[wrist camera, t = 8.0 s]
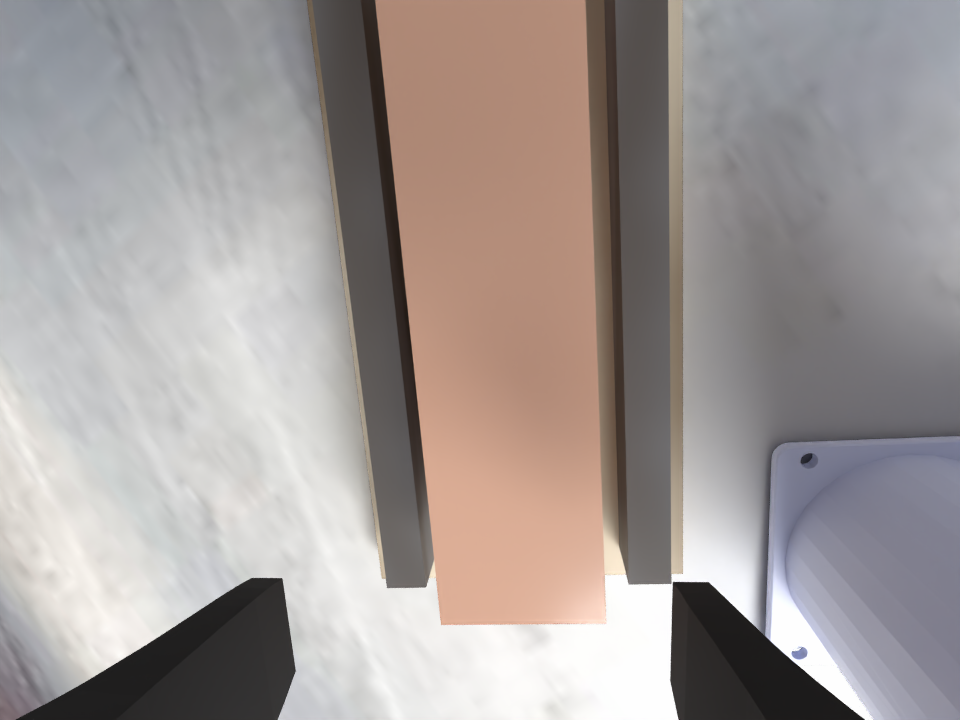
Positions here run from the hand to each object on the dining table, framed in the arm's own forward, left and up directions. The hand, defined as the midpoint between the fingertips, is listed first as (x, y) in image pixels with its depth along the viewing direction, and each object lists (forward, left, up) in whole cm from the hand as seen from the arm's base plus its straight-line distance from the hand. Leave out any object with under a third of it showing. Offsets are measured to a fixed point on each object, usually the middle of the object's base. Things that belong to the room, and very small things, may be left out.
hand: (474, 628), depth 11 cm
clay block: (-1, -6, -8) cm, 10 cm away
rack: (-1, -6, -9) cm, 11 cm away
